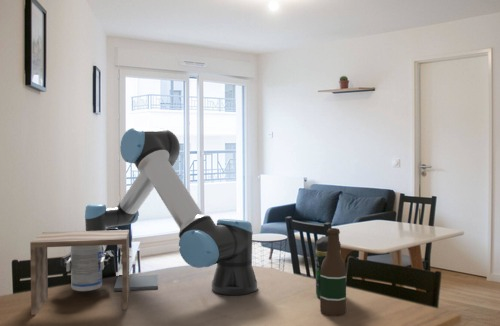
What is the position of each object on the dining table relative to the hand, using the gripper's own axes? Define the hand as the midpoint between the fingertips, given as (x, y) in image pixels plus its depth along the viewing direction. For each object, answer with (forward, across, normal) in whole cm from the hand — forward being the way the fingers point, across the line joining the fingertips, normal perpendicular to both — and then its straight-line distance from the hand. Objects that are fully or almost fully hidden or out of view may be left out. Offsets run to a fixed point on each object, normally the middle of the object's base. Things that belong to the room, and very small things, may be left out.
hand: (84, 266), depth 153 cm
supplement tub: (-4, 0, -8) cm, 9 cm away
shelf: (+7, 0, -10) cm, 12 cm away
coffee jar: (+13, -76, -10) cm, 77 cm away
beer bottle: (+28, -72, -10) cm, 78 cm away
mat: (-11, -16, -10) cm, 21 cm away
